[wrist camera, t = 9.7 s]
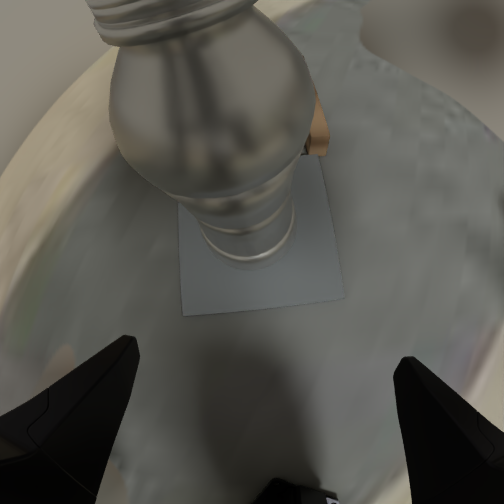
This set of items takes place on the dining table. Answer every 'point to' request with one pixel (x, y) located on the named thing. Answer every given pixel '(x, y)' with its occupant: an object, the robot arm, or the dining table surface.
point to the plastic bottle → (212, 116)
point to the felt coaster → (278, 274)
